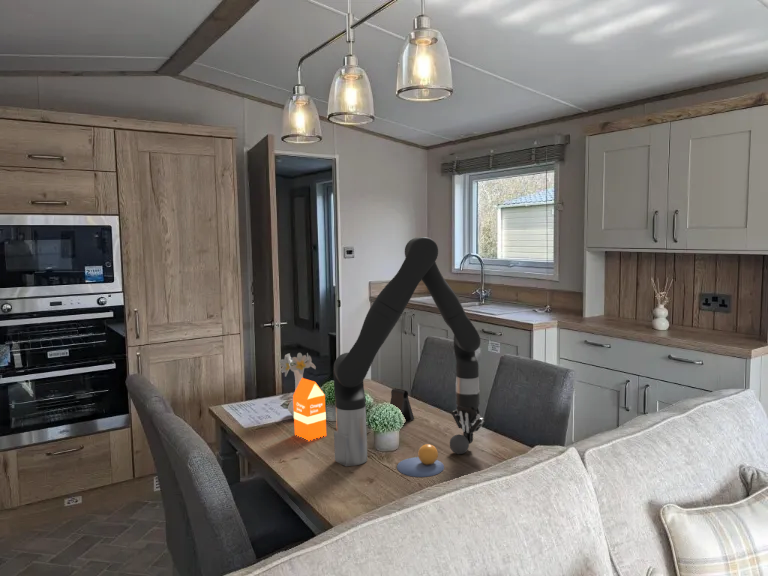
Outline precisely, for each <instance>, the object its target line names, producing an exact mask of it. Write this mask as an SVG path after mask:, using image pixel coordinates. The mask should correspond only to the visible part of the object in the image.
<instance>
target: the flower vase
mask: <svg viewBox="0 0 768 576" xmlns="http://www.w3.org/2000/svg"><path fill="white" fill-rule="evenodd" d="M312 361H313V360H312V356H311V355H309V353H308V352H307V353H306V354H302V353H301V352H298V353H297V355H296V356H293V357H291V352H290V353H287V354H285V355H284V358H282V359H280V360H279V364H280V365H279V367H280V372H281V373H282V374H283V373H284V377H286V378H287V375H288V373H289V372H290V371H291V372H293V374H294V380H295V381H294V384H295V385H294V387H295V388H294V389H295V390H294V392H295V391H296V389H297V387H298V385H299V383H300V381H301V379H302V378H304V371H305V369H310V368H312V369H314V370H316V368H317V367H316V365H315V364H314V363H313V362H312ZM287 410H288V412H289V413H290V415H291V416H292V418H294V404H293V399H292V400H291V401H290V402H289V404H288V406H287Z"/></svg>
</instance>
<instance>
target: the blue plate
mask: <svg viewBox="0 0 768 576" xmlns="http://www.w3.org/2000/svg"><path fill="white" fill-rule="evenodd" d="M396 469H397V471H398V472H399V473H401V474H402V475H404V476H408V477H414V478H425V477H426V478H427V477H433V476H437V475H438V474H441V472H443V471H444V469H445V466H444V463H443V462H442V461H440V460H438V459H437V460H436V461H435V462H434V463H433V464H431V465H426V464H423V463H422V462H421V461H420V460H419V457H418V456H417V457H409V458H406V459H402V460H401V461H399V462H398V464H397V465H396Z"/></svg>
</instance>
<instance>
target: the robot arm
mask: <svg viewBox="0 0 768 576" xmlns="http://www.w3.org/2000/svg"><path fill="white" fill-rule="evenodd" d="M438 256H439V246H438V244H437V242H436V241H434V239H432V238H430V237H425V236H420V237H418V236H417V237H415V238H412V239H410V240H409V241H407V243H406V245H405V246H404V257H405V258H404V261H403V262H402V264H401V266H400V268H399V270H398V271H397V273H396V274H395V275H394V276H393V278H392V279H391V280H389V281H388V283H387V284H386V285H385V286H384V287H383V288H382V290H381V291H380V292H379V294H378V295H377V297H375V300H374V301H373V303H372V304H371V306H370V308H369V310H368V312H367V313H366V316H365V318H364V320H363V324H362V327H361V329H360V332H359V334H358V337H357V339H356V341H355V342H354V344H353V346H352V347H351V348H350V350H349V351H348V352H344V353H342V354H340V355H338V357H336V359H335V361H334V364H333V388H334V389H333V391H334V392H333V393H334V399H335V401H334V402H335V419H336V420H335V423H336V425H335V427H336V430H334V431H333V441H334V443H333V445H334V461H335V462H337V463H338V464H340V465H342V466H345V467H350V466H359V465H363V464H365V463H366V462H367V461H368V438H367V437H368V436H367V408H366V404H367V403H366V394H365V387H364V380H365V379H366V376H367V374H368V372H369V370H370V368H371V365H372V364H373V362H374V359H375V357H376V355H377V353H378V352H379V350H380V349H381V347H382V346H383V344H384V343H385V341H386V340H387V338H388V337H389V335H390V334H391V332H392V330H393V329H394V327H395V326H396V324H397V323H398V321H399V319H400V318H401V316H402V315H403V313H404V311H405V309H406V307H407V306H408V304H409V302H410V300H411V299H412V297H413V295H414V293H415V290H416V289H417V287H418V285H419V284H420V283H421V281H422V282H423V283H424V285H425V287H426V288H427V290H428V292H429V294H430V295H431V298H432V300H433V302H434V303H435V306H436V308H437V309H438V311H439V313H440V315H441V317H442V319H443V321H444V322H445V324H446V325H447V326H448V327H449V329H451V331H452V333H453V349H454V357H455V363H456V365H455V366H456V367H455V371H456V373H455V374H456V375H455V377H456V379H455V405H456V409H455V410H452V411H451V415H452V418H453V419H454V421H455V424H456V425H457V428H459V429H461V430H462V432H463V434H462V435H463V436H465V437H466V438H467V440H468V442H469V445H470V444H472V443H473V442H474V433H475V432H477V431H479V430H480V428H482V426H483V424H484V423H485V422H486V418H485V417H482V416H481V415H480V409H479V406H480V404H481V403H480V402H481V398H480V397H481V396H480V395H481V394H480V392H481V391H480V378H479V361H478V359H477V357H476V351H477V350H478V349H479V347H480V346H481V337H480V336H481V335H480V333H479V332H478V330H477V329H476V326H474V324H473V322H472V321H471V319H470V318H469V317H468V315H467V313H466V310H465V309H464V308H463V305H462V303H461V301H460V300H459V298H458V296H457V295H456V293H455V292H454V290H453V288H452V287H451V286H450V285H449V283H448V282H447V280H446V279H445V278H444V276H443V275H442V273H441V271H440V270H439V267H438V265H437V262H436V261H437V259H438Z"/></svg>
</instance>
